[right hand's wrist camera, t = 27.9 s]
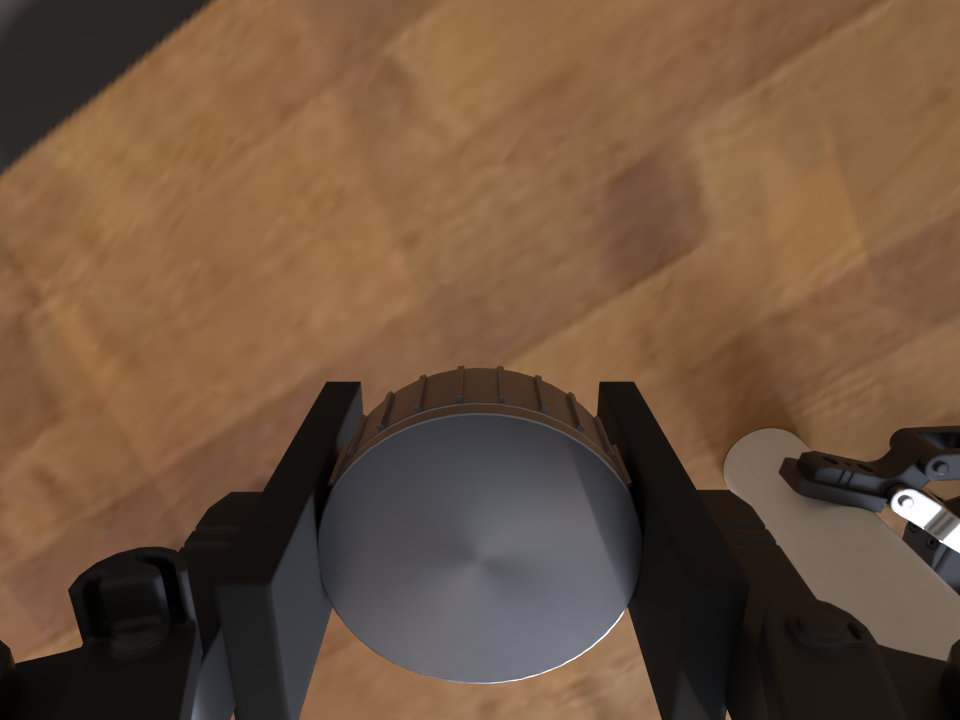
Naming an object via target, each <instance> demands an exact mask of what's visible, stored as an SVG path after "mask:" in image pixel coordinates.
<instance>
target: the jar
mask: <svg viewBox="0 0 960 720" xmlns="http://www.w3.org/2000/svg"><path fill="white" fill-rule="evenodd" d="M803 452H811V450H810V449H809V448H808V447H807V446H806V445H805V444H804V443H803V442H802V441H801V440H800V439H799V438H798V437H797V436H795V435H794V434H792V433H790V432H788V431H786V430H782V429H776V428H767V429H761V430H757V431H754V432H752V433H749V434H747V435H746V436H744V437H743V438H741V439H740V440H739V441H737V442H736V443H735V444H734V446H733V447H732V448H731V449H730V451H729V453H728V454H727V457H726V459H725V462H724V469H723V471H724V479H725V481H726V484H727V486H728V487H729V489H730V490H731V492H733V493H734V494H736V495H737V496H738V497H740V498H741V499H743V500H744V501H745V502H747V503H748V504H750V505H751V506H752V507H753V508H754V510H755V511H756V513H757V514H758V516H759V517H760V518H761V520H762V521H763V523H764V524H765V529H768V530H769V531H770V533H771V534H772V536H773V537H774V538H775V540H776V544H777V545H779V546H780V547H781V548H782V550H783V551H784V553H785V554H786V556H787V557H788V558H789V560H790V561H791V563H792V564H793V566H794V567H795V568H796V570H797V571H798V573H799V574H800V576H801V577H802V578H803V580H804V581H805V583H806V584H807V586H808V587H809V588H810V590H811V591H812V593H813V594H814V596H815V597H816V598H817V600H821V601H824V602H828V603H831V604H833V605H835V606H837V607H839V608H841V609H842V610H844V611H846V612H848V613H850V614H851V615H853V616H854V617H855V618H856V619H857V620H859V621H860V622H861V623H862V624H863V625H865V626H866V627H867V628H868V630H869V631H870V633H871V634H872V636H873V637H874V639H875V640H876V642H877V644H879V645H883V646H886V647H889V648H893V649H896V650H901V651H905V652H909V653H913V654H918V655H922V656H926V657H931V658H935V659H939V660H944V661H947V658H948V655H949V652H950V649H951V646H952V645H953V644H954V643H955V642H956V641H958V640H959V639H960V596H959V595H958V594H957V593H956V592H955V591H954V590H953V589H952V588H951V587H950V586H949V585H948V584H947V583H946V582H945V581H944V580H943V579H942V578H941V577H940V576H939V575H938V574H937V573H936V572H935V571H934V570H933V569H932V568H931V567H930V566H928V565H927V564H926V563H925V562H924V561H923V560H922V559H921V558H920V557H919V556H918V555H917V554H916V553H915V552H914V551H913V550H912V549H911V548H910V547H909V546H908V545H907V544H906V543H905V542H904V541H903V540H902V539H901V538H900V537H899V536H898V535H897V534H896V533H895V532H894V531H893V530H892V529H891V528H890V527H889V526H888V525H887V524H886V523H885V522H884V521H883V520H882V519H881V518H880V517H878V516H877V515H876V514H875V513H874V512H873V511H869V510H865V509H861V508H856V507H850V506H845V505H841V504H836V503H831V502H826V501H822V500H817V499H812V498H808V497H804V496H802V495H800V494H798V493H796V492H795V491H794V490H793V489H792V488H791V487H790V486H789V485H788V484H787V482H786V481H785V480H784V479H783V478H782V477H781V475H780V474H779V473H778V472H779V469H780V467H781V465H782V463H783V460H784V458H785V457H790V458H795V459H799V458H800V456H801V454H802V453H803Z"/></svg>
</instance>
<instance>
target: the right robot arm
mask: <svg viewBox="0 0 960 720" xmlns="http://www.w3.org/2000/svg"><path fill="white" fill-rule="evenodd" d="M362 416H363V405H362V391H361V382H326V384H325V386H324V387H323V389H322V391H321V392H320V394H319V396H318V398H317V399H316V401H315V403H314V404H313V406H312V408H311V410H310V411H309V413H308V415H307V417H306V418H305V420H304V422H303V423H302V425H301V427H300V429H299V430H298V432H297V434H296V435H295V437H294V439H293V441H292V442H291V444H290V446H289V448H288V449H287V451H286V453H285V454H284V456H283V458H282V460H281V461H280V463H279V465H278V466H277V468H276V470H275V472H274V473H273V475H272V477H271V478H270V480H269V482H268V484H267V485H266V487H265V489H264V491H263V492H231V493H229V494H228V495H227V496H225V497H224V498H222V499H221V500H220V501H218V502H217V503H215V504H214V505H213V506H211V507H210V508H209V509H208V510H207V512H206V513H205V514H204V516H203V517H202V519H201V520H200V522H199V523H198V525H197V526H196V530H195V531H193V532H192V533H191V535H190V536H189V538H188V539H187V540H186V542H185V546H184V547H182V548H181V549H180V550H179V552H177V551H176V550H172V549H168V548H163V547H141V548H136V549H132V550H128V551H124V552H120V553H117V554H115V555H113V556H111V557H108V558H106V559H104V560H102V561H100V562H97V563H96V564H94V565H93V566H92V567H90V568H89V569H87V570H86V571H85V572H83V573H82V574H81V575H79V576H78V578H77V579H76V580H75V582H74V583H73V584H72V586H71V587H70V588H69V589H68V591H69V595H70V598H71V602H72V605H73V609H74V613H75V616H76V620H77V623H78V627H79V630H80V634H81V637H82V641H83V645H82V647H80V648H77V649H73V650H70V651H67V652H63V653H58V654H54V655H50V656H46V657H41V658H37V659H33V660H28V661H24V662H20V663H16V664H15V663H14V660H13V657H12V654H11V651H10V648H9V647H8V646H7V645H5V644H4V643H3V642H2V641H1V640H0V720H230V719H231V716H232V714H233V712H234V715H235V720H299V716H300V713H301V710H302V706H303V703H304V700H305V697H306V693H307V690H308V687H309V683H310V680H311V677H312V673H313V670H314V667H315V663H316V660H317V657H318V653H319V650H320V647H321V643H322V640H323V637H324V634H325V630H326V627H327V624H328V620H329V617H330V614H331V610H332V607H333V606H332V604H331V602H330V601H329V599H328V597H327V594H326V592H325V589H324V586H323V584H322V581H321V575H320V567H319V557H318V547H317V533H318V526H319V522H320V518H321V514H322V510H323V508H324V505H325V503H326V500H327V498H328V495H329V493H330V490H331V488H332V487H330V486H327V484H328V482H329V479H330V477H331V475H332V472H333V470H334V467H335V465H336V463H337V460H338V458H339V455H340V453H341V451H342V448H343V446H344V444H345V443H346V444H350V442H351V439H352V438H353V436H354V434H355V431H356V429H357V426H358V424H359V421H360V419H361V417H362ZM597 416H598V417H599V418H600V420H601V422H602V425H603V427H604V430H605V432H606V435H607V437H608V440H609V442H610V444H611V445H615V444H616V446H617V448H618V450H619V453H620V455H621V457H622V460H623V462H624V465H625V467H626V469H627V472H628V474H629V477H630V479H631V482H632V484H633V487H632V488H629V490H630V492H631V495H632V497H633V500H634V502H635V505H636V508H637V511H638V514H639V517H640V520H641V526H642V532H643V551H642V561H641V570H640V578H639V581H638V584H637V587H636V590H635V593H634V595H633V597H632V599H631V601H630V603H629V605H628V609H629V612H630V616H631V619H632V622H633V626H634V629H635V632H636V636H637V639H638V642H639V646H640V649H641V652H642V655H643V659H644V662H645V665H646V669H647V672H648V675H649V679H650V682H651V685H652V689H653V692H654V695H655V699H656V702H657V705H658V708H659V712H660V715H661V718H662V720H725V717H726V712H727V710H728V712H729V715H730V717H731V719H732V720H960V639H959V640H958V641H956V642H955V643H954V644H953V645H952V646H951V649H950V652H949V655H948V658H947V661H944V660H939V659H935V658H931V657H926V656H922V655H918V654H913V653H909V652H905V651H901V650H896V649H893V648H889V647H886V646H883V645H879V644H877V642H876V640H875V639H874V637H873V636H872V634H871V633H870V631H869V630H868V628H867V627H866V626H865V625H863V624H862V623H861V622H860V621H859V620H857V619H856V618H855V617H854V616H853V615H851V614H850V613H848V612H846V611H844V610H842V609H841V608H839V607H837V606H835V605H833V604H831V603H828V602H824V601H821V600H817V598H816V597H815V596H814V594H813V593H812V591H811V590H810V588H809V587H808V586H807V584H806V583H805V581H804V580H803V578H802V577H801V576H800V574H799V573H798V571H797V570H796V568H795V567H794V566H793V564H792V563H791V561H790V560H789V558H788V557H787V556H786V554H785V553H784V551H783V550H782V548H781V547H780V546H779V545H777V544H776V540H775V538H774V537H773V536H772V534H771V533H770V531H769V530H768V529H765V524H764V523H763V521H762V520H761V518H760V517H759V516H758V514H757V513H756V511H755V510H754V508H753V507H752V506H751V505H750V504H748V503H747V502H745V501H744V500H743V499H741V498H740V497H738V496H737V495H736V494H734V493H733V492H731V491H730V490H696V488H695V486H694V485H693V483H692V481H691V479H690V478H689V476H688V474H687V473H686V471H685V469H684V467H683V466H682V464H681V462H680V461H679V459H678V457H677V455H676V454H675V452H674V450H673V449H672V447H671V445H670V443H669V442H668V440H667V438H666V436H665V435H664V433H663V431H662V430H661V428H660V426H659V424H658V423H657V421H656V419H655V418H654V416H653V414H652V412H651V411H650V409H649V407H648V406H647V404H646V402H645V400H644V399H643V397H642V395H641V393H640V392H639V390H638V388H637V387H636V385H635V383H634V382H599V396H598V410H597Z"/></svg>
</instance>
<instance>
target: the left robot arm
mask: <svg viewBox="0 0 960 720" xmlns="http://www.w3.org/2000/svg"><path fill="white" fill-rule="evenodd" d="M890 447H891V449H890V450H889V451H888V452H887V453H886V454H885V455H884V456H883V457H882V458H881V459H879V460H873V461H869V462H863V461H858V460H854V459H849V458H844V457H840V456H835V455H831V454H826V453H821V452H817V451H811V452H803V453H802V454H801V456H800V458H799V459H795V458H790V457H785V458H784V460H783V463H782V465H781V467H780V469H779V472H778V473H779V474H780V475H781V477H782V478H783V479H784V480H785V481H786V482H787V484H788V485H789V486H790V487H791V488H792V489H793V490H794V491H795V492H796V493H798V494H800V495H802V496H804V497H808V498H812V499H817V500H822V501H826V502H831V503H836V504H841V505H845V506H850V507H856V508H861V509H865V510H869V511H874V512H879V513H881V511H882V509H883V507H884V506H889V507H890V508H891V509H892V510H893V511H894V512H896V513H897V514H899V515H901V516H902V517H904V518H906V519H907V520H909V521H908V523H907V525H906V527H905V531H904V535H903V541H904V542H905V543H906V544H907V545H908V546H909V547H910V548H911V549H912V550H913V551H914V552H915V553H916V554H917V555H918V556H919V557H920V558H921V559H922V560H923V561H924V562H925V563H926V564H927V565H928V566H930V567H931V568H932V569H933V570H934V571H935V572H936V573H937V574H938V575H939V576H940V577H941V578H942V579H943V580H944V581H945V582H946V583H947V584H948V585H949V586H950V587H951V588H952V589H953V590H954V591H955V592H956V593H957V594H958V595H959V596H960V496H958V497H955V498H952V499H949V500H945V499H944V498H942V497H941V496H939V495H937V494H936V493H934V492H932V491H931V490H929V489H927V488H926V487H924V486H925V485H926V484H927V483H928V482H929V481H930V480H934V481H944V480H960V426H940V427H918V428H903V429H900V430H898V431H896V432H895V433H894V434H893V435H892V436H891V438H890Z"/></svg>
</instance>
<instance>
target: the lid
mask: <svg viewBox="0 0 960 720" xmlns="http://www.w3.org/2000/svg"><path fill="white" fill-rule="evenodd" d="M327 486H330V487H332V488H331V490H330V493H329V495H328V498H327V500H326V503H325V505H324V508H323V510H322V514H321V518H320V522H319V526H318V533H317V547H318V557H319V567H320V575H321V581H322V584H323V586H324V589H325V592H326V594H327V597H328V599H329V601H330V602H331V604H332V606H333V608H334V610H335V611H336V613H337V614H338V616H339V617H340V618H341V620H342V621H343V622H344V624H345V625H346V626H347V628H348V629H349V630H350V631H351V632H352V633H353V634H354V635H355V636H356V637H357V638H358V639H359V640H360V641H362V642H363V643H364V644H365V645H367V646H368V647H369V648H370V649H372V650H373V651H374V652H376V653H377V654H379V655H381V656H382V657H384V658H385V659H387V660H389V661H390V662H392V663H394V664H397V665H399V666H401V667H403V668H405V669H407V670H410V671H413V672H416V673H418V674H421V675H424V676H428V677H432V678H436V679H440V680H445V681H452V682H460V683H477V684H487V683H501V682H509V681H514V680H520V679H525V678H528V677H532V676H536V675H539V674H542V673H545V672H547V671H550V670H553V669H555V668H558V667H560V666H562V665H564V664H566V663H568V662H569V661H571V660H573V659H575V658H577V657H578V656H580V655H581V654H583V653H584V652H586V651H587V650H589V649H590V648H591V647H593V646H594V645H595V644H596V643H597V642H598V641H600V640H601V639H602V638H603V637H604V636H605V635H606V634H607V633H608V632H609V631H610V630H611V628H612V627H613V626H614V625H615V624H616V623H617V622H618V620H619V619H620V617H621V616H622V614H623V613H624V611H625V610H626V608H627V607H628V605H629V603H630V601H631V599H632V597H633V595H634V593H635V590H636V587H637V584H638V581H639V578H640V570H641V561H642V551H643V532H642V526H641V520H640V517H639V514H638V511H637V508H636V505H635V502H634V500H633V497H632V495H631V492H630V490H629V488H632V487H633V484H632V482H631V479H630V477H629V474H628V472H627V469H626V467H625V465H624V462H623V460H622V457H621V455H620V453H619V450H618V448H617V446H616V444H615V445H611V444H610V442H609V440H608V437H607V435H606V432H605V430H604V427H603V425H602V422H601V420H600V418H599V417H598V416H596V417H593V416H592V415H591V414H590V413H589V412H588V411H587V410H586V409H585V408H584V407H583V406H582V405H581V404H579V403H578V402H577V401H576V398H575V395H574V394H573V393H571V392H569V393H568V394H566V393H565V392H563V391H561V390H560V389H558V388H556V387H555V386H553V385H551V384H549V383H546V382H544V381H542V378H541V376H538V375H535V377H532V376H528V375H525V374H521V373H518V372H513V371H507V370H504V367H502V366H498V367H497V369H489V368H470V369H464V366H459V367H458V370H453V371H448V372H443V373H438V374H435V375H432V376H429V377H427V376H426V374H425V375H422V376H420V379H419V380H418V381H416V382H414V383H412V384H410V385H408V386H406V387H404V388H402V389H400V390H399V391H397V392H396V393H393V392H392V391H390V392H389V393H388V394H387V395H386V398H385V400H384V401H383V402H382V403H381V404H380V405H379V406H377V407H376V408H375V409H374V410H373V411H372V412H371V413H370V414H369V415H368V417H367V416H365V415H363V416H362V417H361V419H360V421H359V424H358V426H357V429H356V431H355V434H354V436H353V438H352V439H351V442H350V444H346V443H345V444H344V446H343V448H342V451H341V453H340V455H339V458H338V460H337V463H336V465H335V467H334V470H333V472H332V475H331V477H330V479H329V482H328V484H327Z"/></svg>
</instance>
